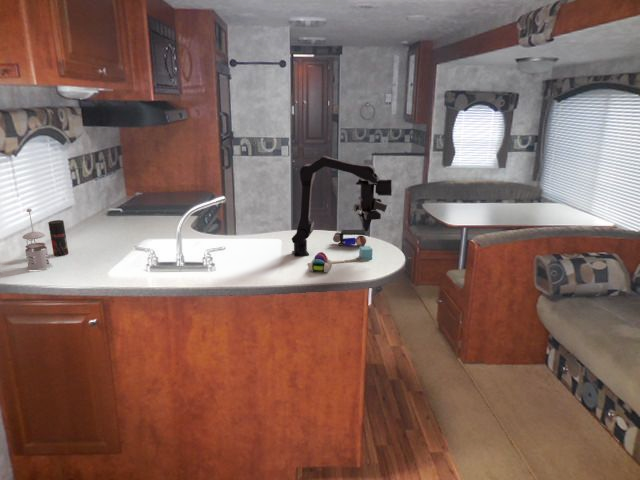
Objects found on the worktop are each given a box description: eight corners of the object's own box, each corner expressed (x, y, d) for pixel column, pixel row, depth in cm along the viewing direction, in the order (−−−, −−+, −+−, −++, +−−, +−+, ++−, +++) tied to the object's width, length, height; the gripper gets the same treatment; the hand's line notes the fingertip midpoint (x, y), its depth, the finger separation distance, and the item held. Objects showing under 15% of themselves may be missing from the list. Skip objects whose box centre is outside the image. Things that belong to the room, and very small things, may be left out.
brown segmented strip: (307, 264, 209) (307, 263, 209) (360, 259, 214) (360, 258, 214) (308, 265, 207) (308, 264, 207) (362, 260, 212) (362, 260, 212)
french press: (31, 273, 200) (20, 212, 193) (20, 267, 207) (9, 208, 200) (56, 267, 207) (46, 208, 200) (45, 261, 214) (35, 204, 207)
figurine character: (333, 249, 233) (366, 247, 230) (331, 233, 231) (364, 231, 228) (335, 245, 239) (367, 243, 236) (333, 230, 237) (365, 227, 234)
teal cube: (359, 256, 218) (359, 246, 217) (369, 255, 219) (369, 246, 218) (362, 259, 214) (362, 249, 213) (372, 259, 215) (372, 249, 214)
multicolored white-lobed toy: (333, 267, 206) (333, 250, 204) (327, 275, 197) (327, 257, 195) (313, 265, 208) (313, 248, 206) (307, 273, 199) (306, 256, 197)
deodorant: (68, 255, 222) (63, 222, 218) (53, 257, 219) (48, 224, 215) (68, 251, 227) (63, 219, 223) (53, 253, 224) (48, 221, 220)
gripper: (393, 198, 202) (392, 235, 206) (377, 190, 219) (376, 224, 224) (367, 200, 199) (366, 237, 204) (353, 191, 217) (353, 225, 221)
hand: (366, 230), depth 213 cm, fingers closed
